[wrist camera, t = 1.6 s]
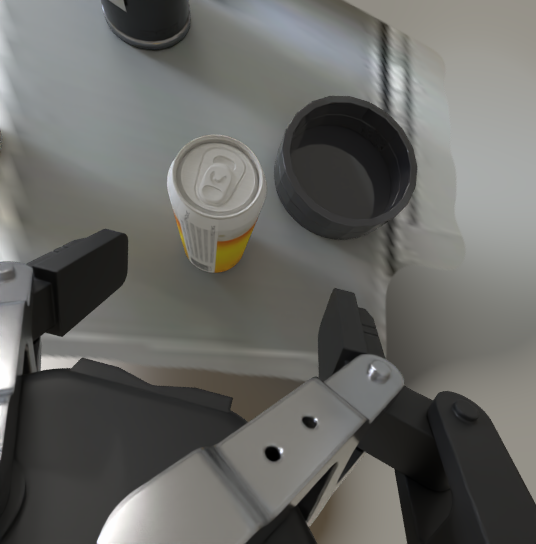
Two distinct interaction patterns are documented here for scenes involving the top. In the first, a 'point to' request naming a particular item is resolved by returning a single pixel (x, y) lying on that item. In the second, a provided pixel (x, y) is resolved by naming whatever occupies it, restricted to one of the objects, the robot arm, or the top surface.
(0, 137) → the can
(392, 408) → the robot arm
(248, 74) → the top surface
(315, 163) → the dark grey bowl
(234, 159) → the beer can
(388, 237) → the top surface
